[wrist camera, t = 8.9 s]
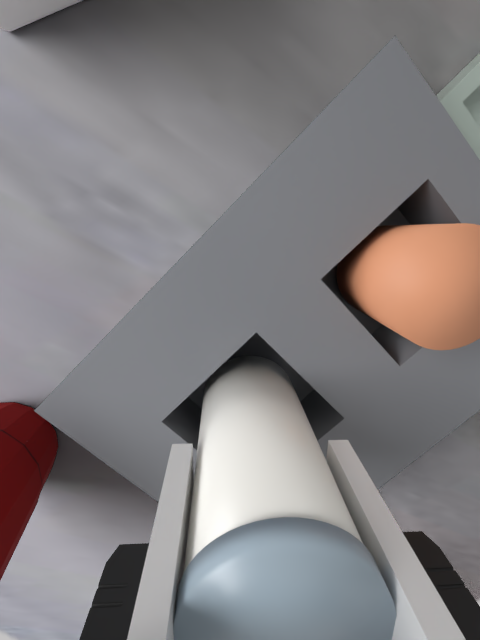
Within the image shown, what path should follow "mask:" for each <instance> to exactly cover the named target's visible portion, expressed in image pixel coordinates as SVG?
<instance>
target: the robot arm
mask: <svg viewBox="0 0 480 640" xmlns="http://www.w3.org/2000/svg"><path fill="white" fill-rule="evenodd" d="M326 461H327V464H328V466H329V468H330V470H331V473H332V475H333V477H334V479H335V482H336V484H337V486H338V488H339V491H340V493H341V495H342V497H343V499H344V502H345V504H346V506H347V508H348V511H349V513H350V515H351V517H352V520H353V522H354V524H355V526H356V529H357V531H358V533H359V535H360V538H361V540H362V542H363V544H364V545H365V546H366V547H367V549H368V550H369V552H370V553H371V554H372V556H373V558H374V560H375V562H376V564H377V566H378V568H379V570H380V572H381V575H382V577H383V579H384V581H385V583H386V586H387V588H388V590H389V592H390V594H391V596H392V599H393V601H394V605H395V609H396V621H395V626H394V631H393V636H392V640H480V606H479V605H478V603H477V602H476V601H475V599H474V598H473V596H472V595H471V593H470V592H469V590H468V589H467V588H465V586H464V583H463V581H462V580H461V578H460V577H459V575H458V574H457V573H456V571H454V570H453V567H452V565H451V564H450V562H449V561H448V559H447V558H446V556H445V555H444V553H443V552H442V550H441V549H440V548H439V547H438V546H437V545H436V544H435V543H434V542H433V541H432V540H431V539H430V538H428V537H427V536H426V535H425V534H424V533H423V532H422V531H421V532H402V531H401V529H400V527H399V526H398V524H397V522H396V521H395V519H394V517H393V515H392V514H391V512H390V510H389V509H388V507H387V505H386V504H385V502H384V500H383V499H382V497H381V495H380V493H379V492H378V490H377V488H376V487H375V485H374V483H373V482H372V480H371V478H370V477H369V475H368V473H367V471H366V470H365V468H364V466H363V465H362V463H361V461H360V460H359V458H358V456H357V455H356V453H355V451H354V449H353V448H352V446H351V444H350V443H349V441H348V440H328V449H327V459H326ZM193 484H194V469H193V443H192V444H172V447H171V451H170V456H169V460H168V464H167V468H166V473H165V477H164V481H163V486H162V490H161V494H160V499H159V503H158V507H157V512H156V516H155V520H154V525H153V529H152V533H151V538H150V542H149V543H148V544H123V545H119V546H118V548H117V549H116V550H115V552H114V553H113V554H112V556H111V557H110V558H109V560H108V561H107V562H106V565H105V567H104V570H103V573H102V576H101V579H100V582H99V586H98V589H97V591H96V593H95V596H94V599H93V602H92V607H91V608H90V611H89V614H88V617H87V619H86V622H85V625H84V628H83V631H82V634H81V637H80V640H174V634H173V625H174V617H175V609H176V601H177V593H178V587H179V583H180V580H181V578H182V575H183V572H184V563H185V555H186V546H187V537H188V528H189V519H190V510H191V501H192V493H193Z"/></svg>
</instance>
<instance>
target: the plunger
mask: <svg viewBox="0 0 480 640" xmlns="http://www.w3.org/2000/svg"><path fill="white" fill-rule="evenodd" d="M336 277H337V284H338V288H339V290H340V293H341V294H342V296H343V298H344V299H345V300H346V301H347V302H348V303H349V304H350V305H351V306H353V307H354V308H356V309H357V310H359V311H361V312H362V313H364V314H366V315H368V316H369V317H371V318H373V319H374V320H376V321H378V322H379V323H381V324H383V325H384V326H386V327H388V328H389V329H391V330H393V331H394V332H396V333H398V334H399V335H401V336H403V337H405V338H406V339H408V340H410V341H411V342H413V343H415V344H417V345H419V346H421V347H424V348H427V349H432V350H451V349H456V348H460V347H463V346H466V345H468V344H470V343H473V342H474V341H476V340H478V339H480V225H476V224H469V223H455V224H420V225H385V226H377V227H376V228H375V229H374V230H373V231H372V232H371V233H370V234H369V235H368V236H367V237H365V238H364V239H363V240H362V241H361V242H360V243H359V244H358V245H357V246H356V247H355V248H354V249H353V250H352V251H350V252H349V253H348V254H347V255H346V256H345V257H344V258H343V259H342V260H341V261H340V262H339V263H338V265H337V272H336Z"/></svg>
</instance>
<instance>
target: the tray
mask: <svg viewBox="0 0 480 640" xmlns="http://www.w3.org/2000/svg"><path fill="white" fill-rule="evenodd" d="M436 96H437V98H438V99H439V101H440V102H441V104H442V105H443V106H444V108H445V109H446V111H447V112H448V114H449V115H450V117H451V118H452V120H453V121H454V123H455V124H456V126H457V127H458V129H459V130H460V132H461V133H462V134H463V136H464V137H465V139H466V140H467V142H468V143H469V145H470V146H471V148H472V149H473V151H474V152H475V154H476V155H477V157H478V158H479V160H480V53H479V54H478V55H477V56H476V57H475V58H474V59H473V60H472V61H471V62H470V63H469V64H468V65H467V66H466V67H465V68H464V69H463V70H462V71H461V72H460V73H459V74H458V75H457V76H456V77H455V78H453V79H452V80H451V81H450V82H449V83H448V84H447V85H446V86H445V87H444V88H443V89H442V90H441V91H440V92H439V93H438V94H437V95H436Z"/></svg>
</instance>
